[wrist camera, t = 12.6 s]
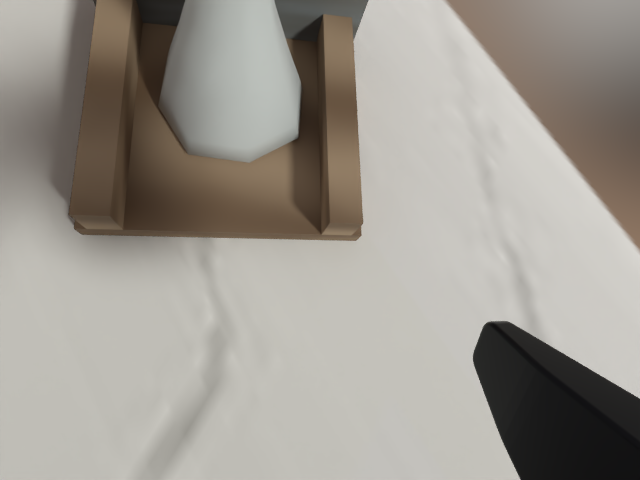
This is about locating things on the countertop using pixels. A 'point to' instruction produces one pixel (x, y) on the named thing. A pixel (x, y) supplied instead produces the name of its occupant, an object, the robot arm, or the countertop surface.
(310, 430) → the countertop surface
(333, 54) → the stand
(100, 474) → the countertop surface
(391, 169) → the countertop surface
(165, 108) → the flask
